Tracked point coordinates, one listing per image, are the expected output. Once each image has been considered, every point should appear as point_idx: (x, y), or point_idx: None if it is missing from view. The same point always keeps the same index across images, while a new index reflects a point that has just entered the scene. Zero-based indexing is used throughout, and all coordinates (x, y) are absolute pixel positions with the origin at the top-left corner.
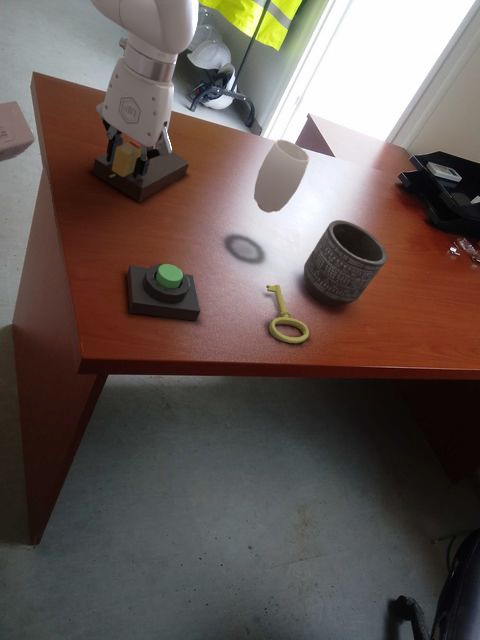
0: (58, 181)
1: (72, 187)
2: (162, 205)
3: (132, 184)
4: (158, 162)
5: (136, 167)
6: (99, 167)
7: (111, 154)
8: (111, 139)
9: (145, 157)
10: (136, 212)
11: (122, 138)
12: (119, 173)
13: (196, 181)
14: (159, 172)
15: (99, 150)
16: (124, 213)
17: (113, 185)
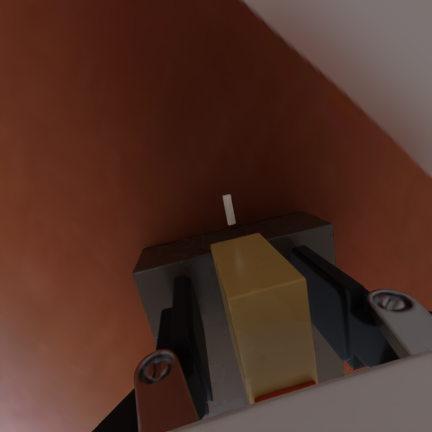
0: (310, 74)
1: (272, 95)
2: (108, 312)
3: (174, 258)
4: None
5: (179, 302)
6: (300, 222)
7: (306, 265)
8: (368, 303)
9: (145, 377)
10: (100, 205)
11: (353, 366)
12: (227, 242)
13: None
14: None
15: None
16: (107, 162)
17: (234, 228)
